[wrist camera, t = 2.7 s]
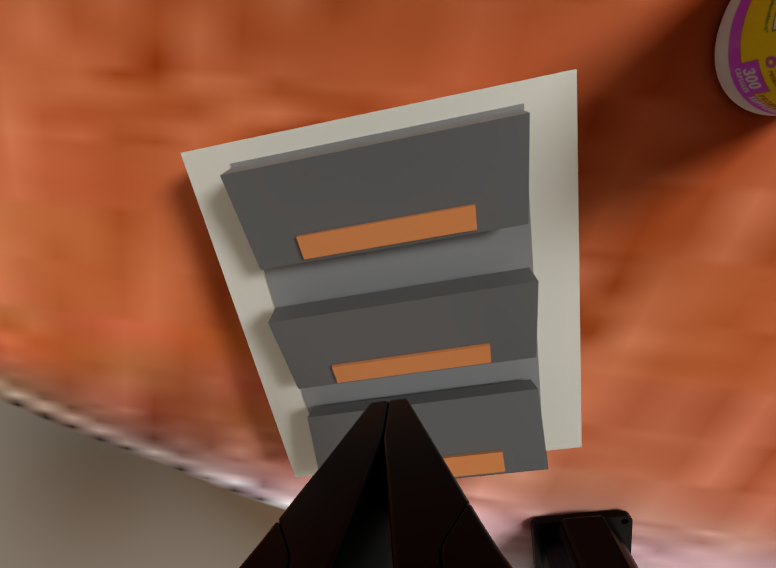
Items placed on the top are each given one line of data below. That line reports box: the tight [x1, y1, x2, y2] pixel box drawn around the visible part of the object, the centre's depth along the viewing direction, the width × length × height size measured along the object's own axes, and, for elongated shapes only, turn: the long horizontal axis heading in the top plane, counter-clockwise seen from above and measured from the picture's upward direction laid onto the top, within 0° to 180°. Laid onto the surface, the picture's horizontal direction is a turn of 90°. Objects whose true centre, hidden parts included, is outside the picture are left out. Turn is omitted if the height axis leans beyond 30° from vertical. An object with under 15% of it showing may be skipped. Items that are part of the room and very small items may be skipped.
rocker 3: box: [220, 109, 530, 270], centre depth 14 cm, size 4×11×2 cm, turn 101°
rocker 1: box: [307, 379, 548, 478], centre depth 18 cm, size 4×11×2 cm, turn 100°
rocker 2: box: [268, 267, 539, 389], centre depth 16 cm, size 4×11×2 cm, turn 101°
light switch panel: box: [181, 69, 581, 477], centre depth 19 cm, size 21×16×3 cm
